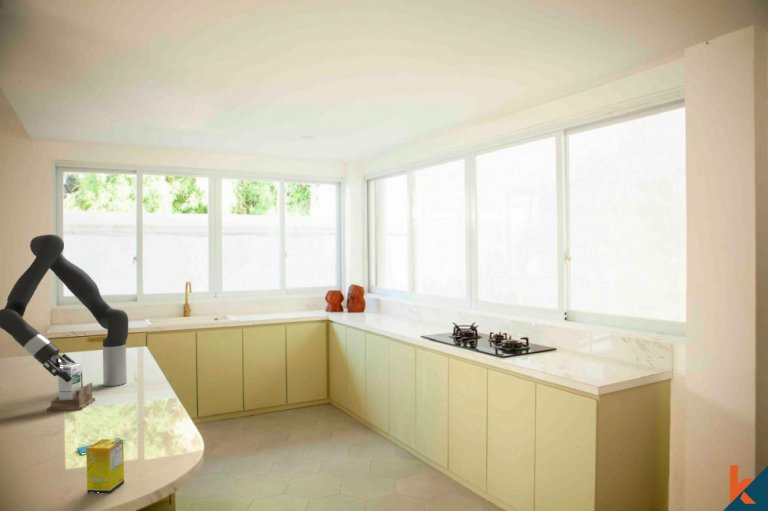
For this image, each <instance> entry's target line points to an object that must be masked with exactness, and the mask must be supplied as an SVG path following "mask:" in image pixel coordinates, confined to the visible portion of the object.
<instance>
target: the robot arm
mask: <svg viewBox="0 0 768 511" xmlns="http://www.w3.org/2000/svg"><path fill="white" fill-rule="evenodd" d="M29 248H30V251H31V252H32V255H34V256H35V258H34V260H33V262H32V263H31V264H30V265H29V267H28V268H27V269H26V270H25V271H24V272H23V273H22V274H21V276H20V277H19V278H18V279H17V280H16V282H15V284H14V285H13V287H12V288H11V290H10V292H9V294H8V296H7V301H6V305H5V306H4V308H1V309H0V329H1V330H3V331H4V332H6V333H7V334H9V335H10V336H11V337H12V338H13V339H14V340H15V341H16V342H17V343H18V344H19V345H20V346H21V347H22V348H24V350H25V351H26V352H27V354H29V355H30V356H32V357H33V359H35V360H36V361H37V362H38V363H40V364H41V365H42V367H43V368H44V369H45V370H46V371H48V373H50V375H52V376H54V377H58V376H60V377H61V378H62V379H63V380H65V381H66V382H69V381H70V380H71V379H72V377H71V376H70V375H69V374H67V373H66V372H64V370H63V366H64V365H67V364H72V363H76V361H74V360H73V359H72V358H71V357H69V355H67V354H65V353H63V354H62V355H60V354H59V353H60V351H61V349H60V348H59V347H58V346H57V345H55V344H54V343H53V342H51V340H50V339H49V338H47V337H46V336H44V335H43V334H42V333H40V332H39V331H38V330H37V329H35V327H33V326H32V325H30V324H29V323H28V322H27V321H26V320H25V319H24V318H23V317H24V314H25V312H26V309H27V307H28V304H29V303H30V302H31V299H32V298H33V296H34V294H35V292H36V290H37V289H38V286H39V285H40V284H41V282H42V280H43V278H45V275H47V272H48V271H49V270H51V271H52V272H53V273H54V275H56V277H57V278H58V279H59V280H60V281H61V283H63V284H64V285H65V287H66V288H67V289H68V290H69V291H70V292H71V294H73V295H74V296H75V298H77V299H78V300H79V302H81V303H82V305H83V306H84V307H85V308H86V309H88V311H89V312H90V313H91V314H92V316H93V317H94V318H95V320H96V321H97V323H98V324H99V325H100V326H101V327H102V328H103V329H105V330H107V334H106V337H105V338H104V339H102V379H103V381H102V384H103V386H104V387H105V386H106V387H117V386H121V385H124V384H127V382H128V380H127V378H128V376H127V340H128V338H129V337H128V336H129V317H128V314H127V313H126V311H124V310H123V309H116V308H112V307H111V306H110V305H109V304H108V303H107V302H106V300H104V299H103V297H102V296H101V293H100V290H99V286H98V285H97V283H96V282H95V281H94V280H93V279H92V277H91V276H90V275H89V274H88V272H86V271H84V270H83V269H81V268H80V267H79V266H77V265H76V264H74V263H73V262H71V261H69V260H68V259H67V258H66V256H64V255H63V254H62V253H63V251H64V249H65V243H64V240H63V239H62V237H60V236H59V235H57V234H44V235H43V234H42V235H38V236H35V237H33V238H32V239H31V241H30V244H29Z"/></svg>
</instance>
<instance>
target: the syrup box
mask: <svg viewBox="0 0 768 511" xmlns="http://www.w3.org/2000/svg"><path fill="white" fill-rule="evenodd" d="M63 370H64V372H66V373H67V374H69V375H70V376H71V377H72V379H71V380H70V381H69V382H66V381H65V380H63V379H62V378H61V377H60V376H57V380H58V381H57V382H58V397H59V400H70V399H76V391H77V390H79V389H80V388H82V387H84V386H83V384H84V382H83V379H84V378H83V363H77V362H75V363H72V364H67V365H64V366H63Z"/></svg>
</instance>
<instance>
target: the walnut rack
mask: <svg viewBox="0 0 768 511" xmlns="http://www.w3.org/2000/svg"><path fill="white" fill-rule="evenodd" d="M93 401H94V402H95V401H96V398H95V397H93V383H92V382H89V383H88V384H85V385H84V386H83V387H82V388H80V389H79V390H77V391H76V399H70V400H59V396H58V397H56V398H54V399H52V400H51V401H50V406H49V407H48V408H46V412H47V413H49V412H48V411H50V412H64V411H82V410H84V409H85V408H86V406H87V407H89V404H90V405H91V404H93V403H94V402H93ZM83 408H84V409H83ZM81 409H82V410H81Z"/></svg>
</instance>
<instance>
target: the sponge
mask: <svg viewBox="0 0 768 511" xmlns="http://www.w3.org/2000/svg"><path fill="white" fill-rule="evenodd" d="M115 439H121V437H117V438H115ZM123 441H124V442H125V440H124V439H123ZM93 444H94V443H92V444H88V445H85V446H81V447H78V448H76V450H78V451H79V452H81V453H86V448H87V447H89V446H91V445H93ZM78 451H77V452H78ZM79 452H78V453H79Z"/></svg>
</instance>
